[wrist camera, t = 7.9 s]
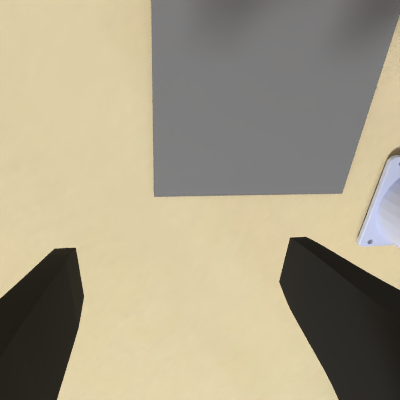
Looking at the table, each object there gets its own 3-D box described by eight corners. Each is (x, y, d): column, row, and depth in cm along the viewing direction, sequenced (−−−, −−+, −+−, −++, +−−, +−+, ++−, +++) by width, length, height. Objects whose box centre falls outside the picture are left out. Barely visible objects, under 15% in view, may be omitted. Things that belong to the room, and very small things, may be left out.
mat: (398, 1, 16) (404, 0, 16) (338, 191, 21) (342, 193, 21) (150, -28, 14) (151, -31, 13) (153, 194, 19) (154, 196, 19)
